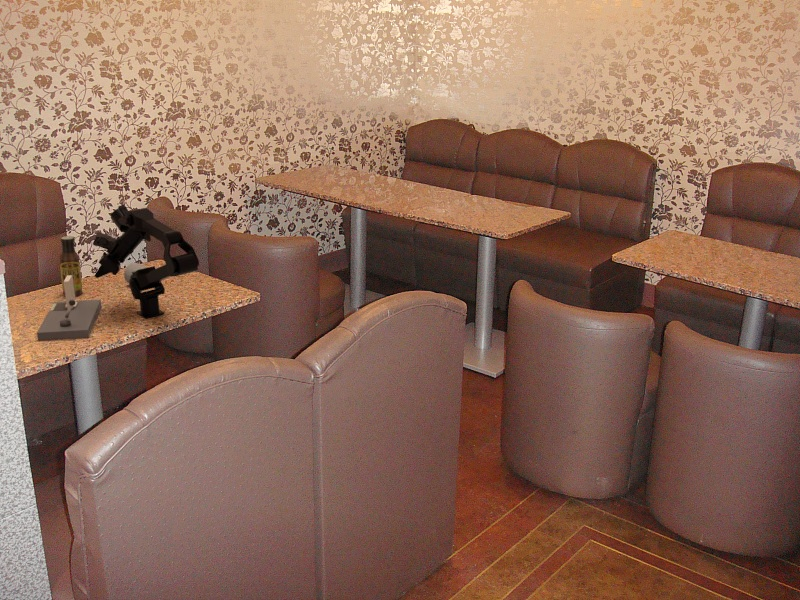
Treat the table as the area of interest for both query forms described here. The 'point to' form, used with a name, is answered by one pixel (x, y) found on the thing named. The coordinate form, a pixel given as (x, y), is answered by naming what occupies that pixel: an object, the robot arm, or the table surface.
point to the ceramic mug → (132, 270)
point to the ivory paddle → (69, 290)
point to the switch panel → (69, 321)
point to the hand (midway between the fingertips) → (95, 276)
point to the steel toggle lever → (69, 308)
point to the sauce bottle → (70, 264)
